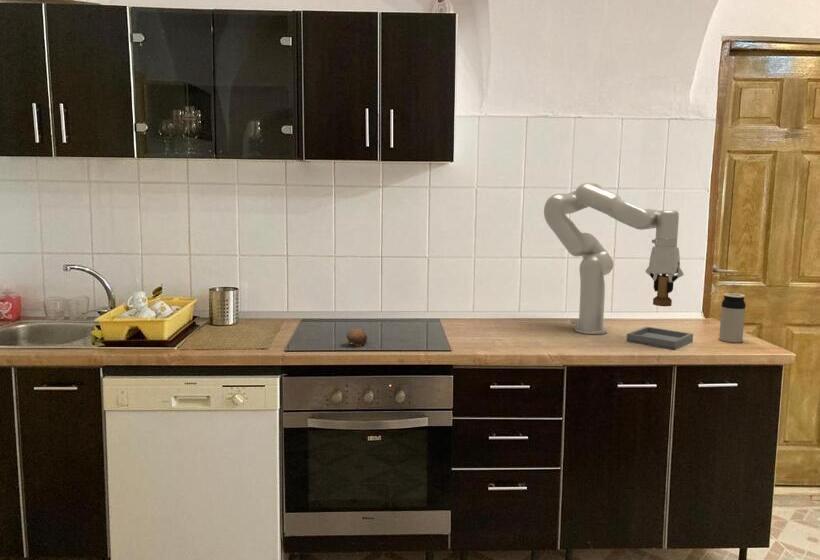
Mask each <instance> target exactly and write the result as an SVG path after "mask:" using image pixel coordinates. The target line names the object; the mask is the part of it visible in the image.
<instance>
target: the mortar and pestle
mask: <svg viewBox="0 0 820 560" xmlns="http://www.w3.org/2000/svg"><path fill="white" fill-rule="evenodd" d="M668 282H669V278H668V275H667V274H660V275H659V276H658V290H657V291H656V296H655V297H653V298H652V305H653V306H657V307H671V306H672V303H673V300H672V299H671V297H670V296H669V293H667V283H668Z"/></svg>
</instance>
